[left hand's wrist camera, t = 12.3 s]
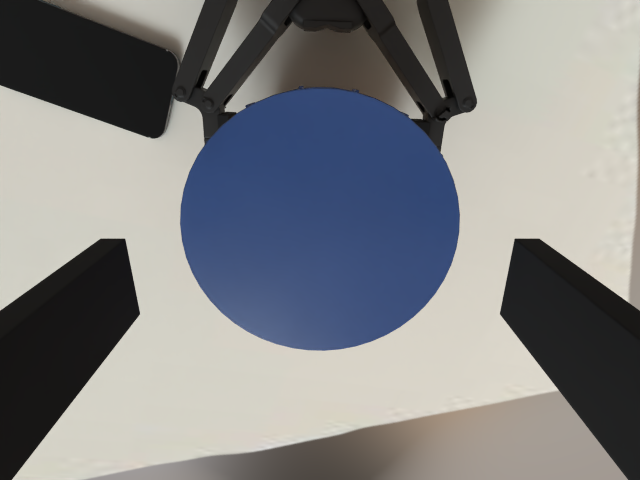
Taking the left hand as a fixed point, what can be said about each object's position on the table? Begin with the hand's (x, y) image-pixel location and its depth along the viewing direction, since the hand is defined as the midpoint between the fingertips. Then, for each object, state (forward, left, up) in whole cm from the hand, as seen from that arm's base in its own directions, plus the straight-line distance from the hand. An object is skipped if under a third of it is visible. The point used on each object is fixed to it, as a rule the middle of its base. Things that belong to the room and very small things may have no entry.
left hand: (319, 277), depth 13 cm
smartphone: (-20, -2, -24) cm, 31 cm away
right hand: (+1, -3, -18) cm, 18 cm away
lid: (0, 0, -4) cm, 4 cm away
